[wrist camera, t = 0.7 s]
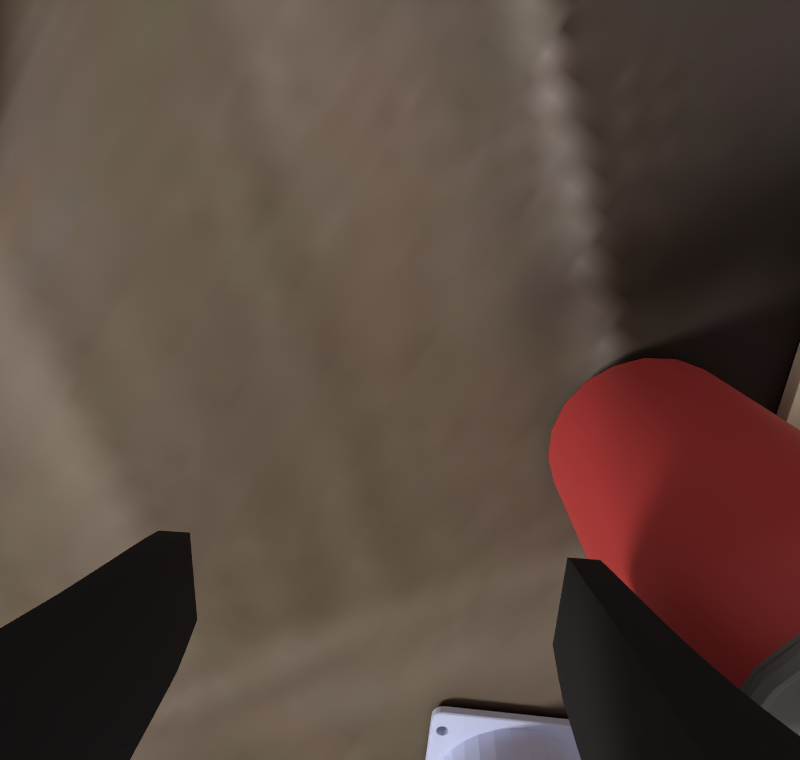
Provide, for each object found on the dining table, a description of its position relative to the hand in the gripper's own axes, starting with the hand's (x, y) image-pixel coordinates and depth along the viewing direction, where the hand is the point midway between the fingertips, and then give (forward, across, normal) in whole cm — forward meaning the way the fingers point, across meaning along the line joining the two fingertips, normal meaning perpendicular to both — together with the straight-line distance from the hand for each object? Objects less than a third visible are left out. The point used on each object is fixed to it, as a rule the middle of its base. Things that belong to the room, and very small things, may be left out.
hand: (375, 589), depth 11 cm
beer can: (+10, -9, +1) cm, 13 cm away
